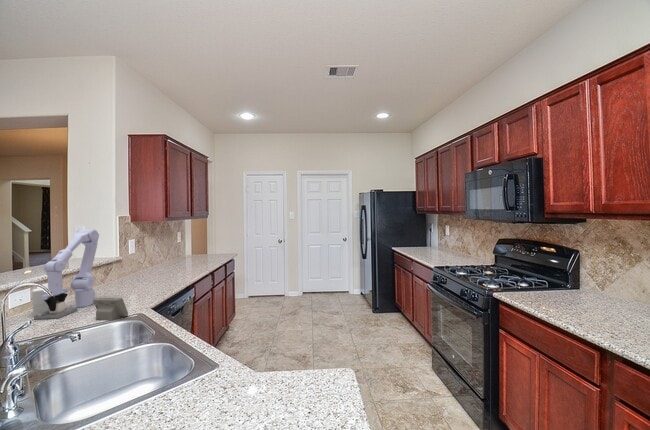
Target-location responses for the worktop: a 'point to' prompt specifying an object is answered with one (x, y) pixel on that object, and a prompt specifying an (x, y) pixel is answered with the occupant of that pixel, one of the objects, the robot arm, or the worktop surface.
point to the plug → (58, 307)
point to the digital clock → (109, 308)
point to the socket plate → (55, 314)
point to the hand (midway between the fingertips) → (56, 309)
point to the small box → (39, 302)
